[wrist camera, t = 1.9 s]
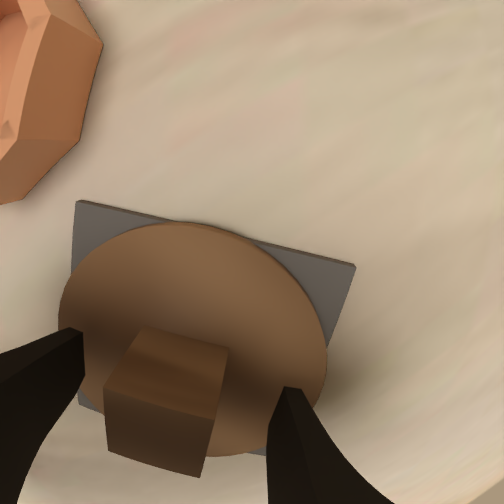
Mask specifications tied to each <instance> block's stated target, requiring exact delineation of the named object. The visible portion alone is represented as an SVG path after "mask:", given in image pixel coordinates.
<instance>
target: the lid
mask: <svg viewBox="0 0 504 504" xmlns="http://www.w3.org/2000/svg"><path fill="white" fill-rule="evenodd" d="M68 327H71V328H74V329H76V330H79V331H81V332H83V340H84V360H85V374H86V375H85V377H84V379H83V381H82V383H81V385H80V389H81V390H82V392H83V393H84V395H85V396H86V397H87V398H88V399H89V401H90V402H91V403H92V404H93V405H94V406H95V407H96V408H97V409H98V410H99V411H100V412H101V413H102V414H103V415H104V416H105V426H106V436H107V444H108V451H110V452H113V453H116V454H118V455H121V456H124V457H127V458H130V459H133V460H136V461H139V462H142V463H145V464H148V465H152V466H155V467H158V468H162V469H165V470H169V471H173V472H176V473H180V474H184V475H188V476H193V477H197V478H200V476H201V472H202V468H203V464H204V460H205V457H206V456H207V457H218V456H230V455H237V454H243V453H246V452H250V451H254V450H257V449H260V448H262V447H265V446H266V443H267V432H268V424H269V422H270V420H271V417H272V415H273V412H274V410H275V407H276V405H277V402H278V400H279V397H280V395H281V392H282V390H283V387H284V386H287V387H293V388H299V389H302V391H303V392H304V394H305V396H306V398H307V400H308V401H309V403H310V405H311V407H312V408H313V407H314V405H315V403H316V401H317V400H318V398H319V395H320V393H321V390H322V388H323V385H324V380H325V375H326V369H327V352H326V345H325V338H324V335H323V332H322V328H321V325H320V322H319V319H318V316H317V313H316V310H315V308H314V306H313V304H312V302H311V300H310V298H309V296H308V294H307V293H306V292H305V290H304V289H303V287H302V286H301V284H300V283H299V282H298V280H297V279H296V278H295V277H294V276H293V275H292V274H291V273H290V272H289V270H288V269H287V268H286V267H285V266H284V265H283V264H281V263H280V262H279V261H278V260H276V259H275V258H274V257H273V256H272V255H270V254H269V253H268V252H266V251H265V250H263V249H261V248H260V247H258V246H257V245H255V244H253V243H252V242H251V241H249V240H246V239H244V238H242V237H240V236H238V235H235V234H233V233H231V232H228V231H225V230H221V229H218V228H215V227H212V226H207V225H201V224H195V223H189V222H165V223H156V224H149V225H145V226H141V227H137V228H133V229H131V230H128V231H126V232H124V233H121V234H119V235H117V236H115V237H113V238H111V239H110V240H108V241H106V242H105V243H103V244H102V245H100V246H99V247H97V248H96V249H94V250H93V251H91V252H90V253H89V254H88V255H87V256H86V257H85V258H84V259H83V260H82V261H81V262H80V263H79V265H78V266H77V267H76V269H75V270H74V271H73V273H72V274H71V276H70V278H69V280H68V282H67V284H66V286H65V288H64V291H63V294H62V298H61V301H60V308H59V314H58V330H59V331H60V330H62V329H65V328H68Z"/></svg>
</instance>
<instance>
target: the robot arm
mask: <svg viewBox="0 0 504 504" xmlns="http://www.w3.org/2000/svg"><path fill="white" fill-rule="evenodd" d="M85 375H86V374H85V360H84V340H83V332H81V331H79V330H76V329H74V328H71V327H68V328H65V329H62V330H60V331H57V332H55V333H52V334H50V335H48V336H45V337H43V338H41V339H38V340H36V341H33V342H31V343H29V344H26V345H24V346H21V347H18V348H15V349H13V350H10V351H7V352H4V353H1V354H0V504H17V501H18V498H19V495H20V492H21V489H22V486H23V484H24V481H25V478H26V476H27V474H28V471H29V469H30V467H31V464H32V462H33V460H34V458H35V456H36V454H37V452H38V450H39V448H40V446H41V444H42V442H43V441H44V439H45V437H46V436H47V434H48V433H49V431H50V430H51V429H52V427H53V426H54V424H55V423H56V422H57V420H58V419H59V417H60V416H61V415H62V413H63V412H64V410H65V409H66V408H67V406H68V405H69V403H70V402H71V401H72V399H73V398H74V396H75V394H76V393H77V391H78V389H79V387H80V385H81V383H82V381H83V379H84V377H85ZM266 463H267V485H268V504H394V503H393V502H391V501H390V500H389V499H387V498H386V497H385V496H383V495H382V494H381V493H380V492H379V491H377V490H376V489H375V488H374V487H373V486H372V485H371V484H370V483H368V482H367V481H366V480H365V479H364V478H363V477H362V476H361V475H360V474H359V473H358V472H357V470H356V469H355V468H354V467H353V466H352V465H351V464H350V463H349V462H348V461H347V459H346V458H345V457H344V456H343V454H342V453H341V452H340V450H339V449H338V448H337V446H336V445H335V444H334V442H333V441H332V439H331V438H330V436H329V435H328V433H327V432H326V430H325V429H324V427H323V425H322V424H321V422H320V421H319V419H318V417H317V416H316V414H315V412H314V410H313V409H312V407H311V405H310V403H309V401H308V400H307V398H306V396H305V394H304V392H303V391H302V389H299V388H293V387H287V386H284V387H283V390H282V392H281V395H280V397H279V400H278V402H277V405H276V407H275V410H274V412H273V415H272V417H271V420H270V422H269V424H268V432H267V443H266Z"/></svg>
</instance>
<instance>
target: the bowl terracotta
mask: <svg viewBox="0 0 504 504" xmlns="http://www.w3.org/2000/svg"><path fill="white" fill-rule="evenodd" d="M102 47H103V43H102V42H101V40H100V38H99V37H98V35H97V33H96V32H95V30H94V29H93V27H92V25H91V24H90V22H89V20H88V19H87V17H86V15H85V14H84V12H83V10H82V9H81V7H80V5H79V4H78V2H77V0H0V205H2V204H6V203H10V202H13V201H17V200H21V199H23V198H24V197H25V196H26V195H27V193H28V192H29V191H30V190H31V189H32V188H33V187H34V186H35V185H36V183H37V182H38V181H39V180H40V179H41V178H42V177H43V176H44V175H45V174H46V173H47V172H48V171H49V170H50V169H51V168H52V167H53V166H54V165H55V164H56V163H57V162H58V161H59V160H60V159H61V158H62V157H63V156H64V155H65V154H66V153H67V152H68V151H69V150H70V149H71V148H72V147H73V146H74V145H75V144H76V143H77V142H78V141H79V139H80V134H81V128H82V124H83V119H84V114H85V110H86V105H87V101H88V97H89V93H90V89H91V85H92V81H93V77H94V74H95V70H96V67H97V63H98V60H99V57H100V53H101V50H102Z"/></svg>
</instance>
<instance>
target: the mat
mask: <svg viewBox="0 0 504 504" xmlns="http://www.w3.org/2000/svg"><path fill="white" fill-rule="evenodd" d="M165 222H176V221H172V220H168V219H163V218H159V217H155V216H150V215H146V214H142V213H137V212H133V211H129V210H124V209H120V208H115V207H111V206H106V205H102V204H98V203H93V202H89V201H84V200H79V201H76V204H75V214H74V226H73V241H72V262H71V274H72V273H73V271H74V270H75V269H76V267H77V266H78V265H79V263H80V262H81V261H82V260H83V259H84V258H85V257H86V256H87V255H88V254H89V253H90V252H91V251H93V250H94V249H96V248H97V247H99V246H100V245H102V244H103V243H105V242H106V241H108V240H110V239H111V238H113V237H115V236H117V235H119V234H121V233H124V232H126V231H128V230H131V229H133V228H137V227H141V226H145V225H149V224H156V223H165ZM242 238H244V237H242ZM244 239H246V240H249V241H251V242H252V243H253V244H255V245H257V246H258V247H260V248H261V249H263V250H265V251H266V252H268V253H269V254H270V255H272V256H273V257H274V258H275V259H276V260H278V261H279V262H280V263H281V264H283V265H284V266H285V267H286V268H287V269H288V270H289V272H290V273H291V274H292V275H293V276H294V277H295V278H296V279H297V280H298V282H299V283H300V284H301V286H302V287H303V289H304V290H305V292H306V293H307V294H308V296H309V298H310V300H311V302H312V304H313V306H314V308H315V310H316V313H317V316H318V319H319V322H320V325H321V328H322V332H323V335H324V338H325V345H326V349H327V346H328V344H329V341H330V339H331V336H332V334H333V331H334V328H335V326H336V323H337V321H338V318H339V315H340V313H341V310H342V307H343V305H344V302H345V299H346V296H347V294H348V291H349V288H350V285H351V282H352V279H353V276H354V273H355V271H356V267H355V265H354V264H351V263H347V262H343V261H339V260H335V259H331V258H327V257H323V256H319V255H315V254H311V253H306V252H302V251H298V250H294V249H290V248H286V247H282V246H278V245H274V244H269V243H265V242H261V241H257V240H253V239H249V238H244ZM77 393H78V401H79V405H82V406H84V407H87V408H89V409H92V410H94V411H97V412H99V413H101V412H100V411H99V410H98V409H97V408H96V407H95V406H94V405H93V404H92V403H91V402H90V401H89V399H88V398H87V397H86V396H85V395H84V393H83V392H82V390H81V389H80V387H79V389H78V391H77ZM246 453H251V454H257V455H264V456H266V446H265V447H262V448H260V449H257V450H254V451H250V452H246Z"/></svg>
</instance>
